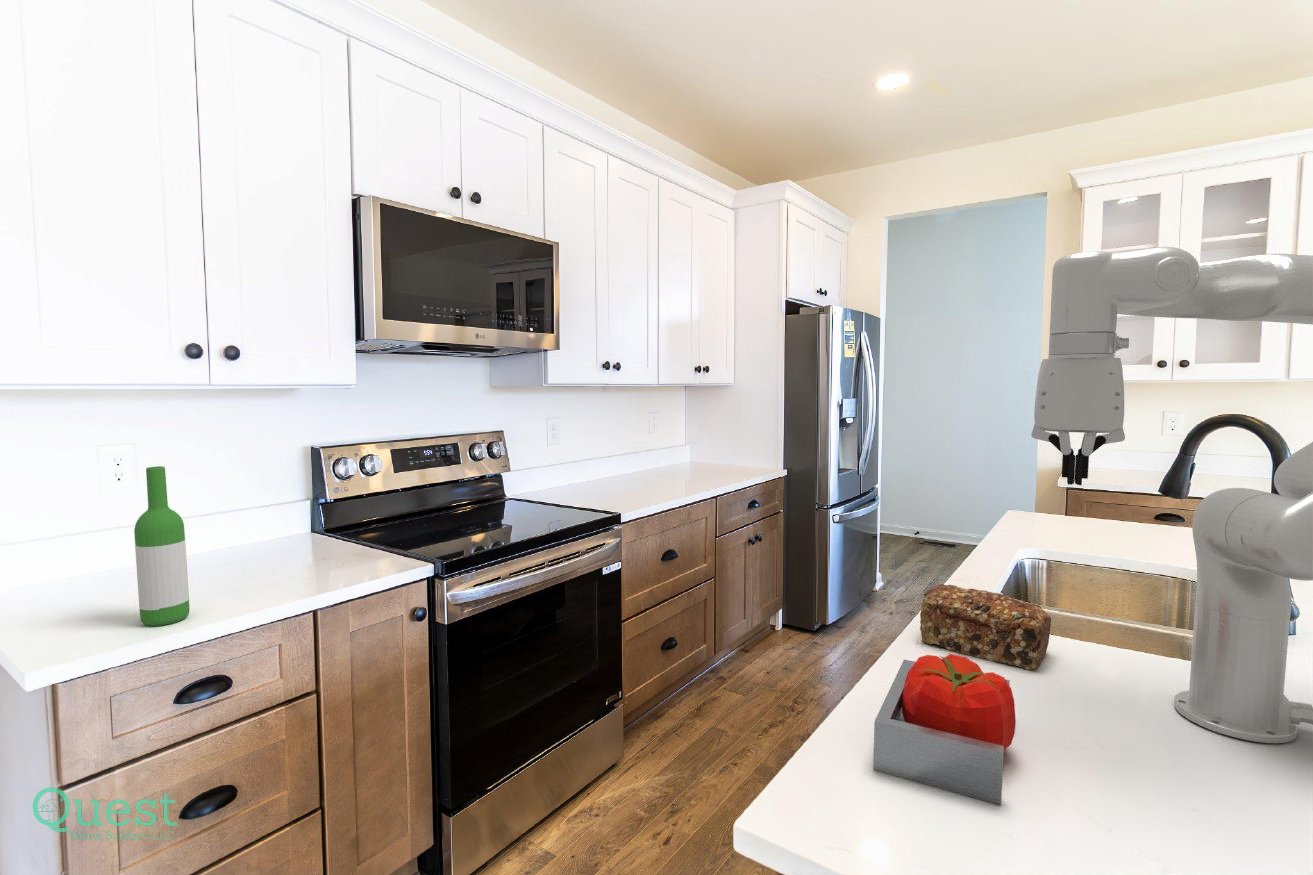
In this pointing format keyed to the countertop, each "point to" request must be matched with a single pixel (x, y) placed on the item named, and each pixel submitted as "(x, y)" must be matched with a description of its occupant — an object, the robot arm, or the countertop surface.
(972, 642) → the bread
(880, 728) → the grey u-shaped bracket
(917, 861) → the countertop surface
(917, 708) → the tomato
